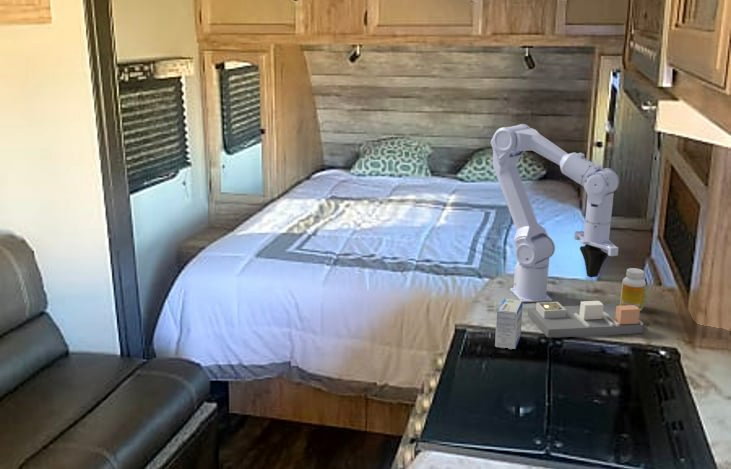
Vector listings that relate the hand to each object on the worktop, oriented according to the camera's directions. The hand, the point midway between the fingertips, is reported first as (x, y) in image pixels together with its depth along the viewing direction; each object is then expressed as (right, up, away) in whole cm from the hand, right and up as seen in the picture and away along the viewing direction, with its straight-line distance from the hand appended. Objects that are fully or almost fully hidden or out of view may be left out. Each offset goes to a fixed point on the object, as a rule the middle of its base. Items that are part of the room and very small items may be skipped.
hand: (592, 276), depth 177 cm
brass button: (-11, -8, -4) cm, 14 cm away
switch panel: (-3, -11, -4) cm, 12 cm away
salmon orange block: (+5, -10, -8) cm, 14 cm away
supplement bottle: (+12, -8, +6) cm, 16 cm away
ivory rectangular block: (-2, -9, -6) cm, 11 cm away
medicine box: (-23, -14, -14) cm, 30 cm away
